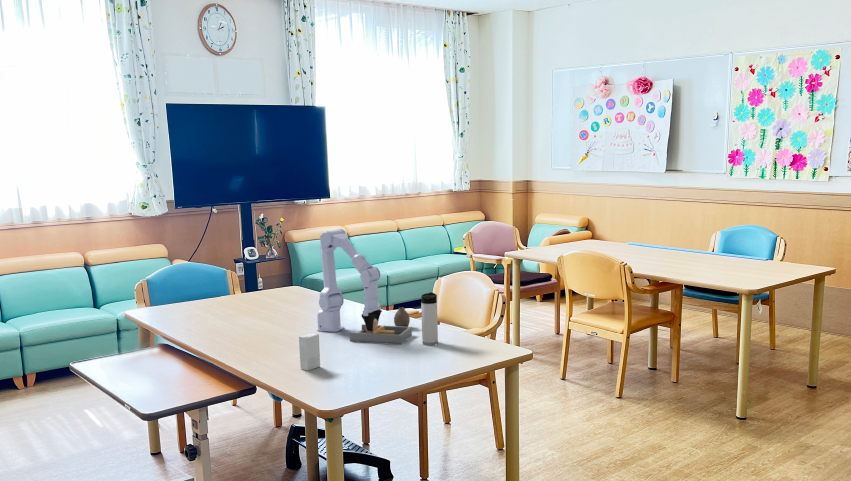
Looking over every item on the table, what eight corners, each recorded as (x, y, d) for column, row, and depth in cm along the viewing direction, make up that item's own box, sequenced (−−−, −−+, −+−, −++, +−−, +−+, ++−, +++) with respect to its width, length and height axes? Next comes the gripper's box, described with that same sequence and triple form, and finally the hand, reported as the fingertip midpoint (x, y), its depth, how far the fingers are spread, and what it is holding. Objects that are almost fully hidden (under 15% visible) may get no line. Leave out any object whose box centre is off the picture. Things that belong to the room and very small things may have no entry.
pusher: (373, 339, 277) (372, 331, 277) (382, 332, 288) (382, 325, 287) (389, 340, 275) (389, 332, 275) (398, 333, 286) (397, 326, 285)
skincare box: (312, 364, 248) (311, 332, 247) (321, 367, 245) (319, 334, 244) (299, 369, 244) (297, 335, 242) (307, 371, 241) (306, 337, 239)
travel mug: (440, 341, 275) (439, 292, 273) (435, 345, 269) (434, 296, 266) (425, 340, 277) (424, 292, 275) (420, 344, 271) (418, 295, 268)
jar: (364, 334, 281) (363, 320, 281) (368, 331, 286) (367, 317, 285) (375, 335, 280) (375, 320, 279) (379, 332, 285) (379, 318, 284)
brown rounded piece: (407, 330, 294) (407, 310, 293) (392, 329, 296) (391, 309, 295) (411, 326, 301) (411, 306, 300) (396, 325, 302) (395, 306, 301)
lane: (349, 341, 279) (349, 332, 278) (362, 332, 292) (362, 324, 292) (401, 344, 272) (400, 335, 272) (411, 335, 286) (411, 327, 285)
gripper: (373, 301, 273) (375, 334, 275) (386, 293, 287) (387, 325, 289) (357, 300, 275) (358, 333, 277) (370, 293, 289) (371, 324, 291)
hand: (372, 329), depth 283 cm, fingers closed on jar, 5 cm apart
